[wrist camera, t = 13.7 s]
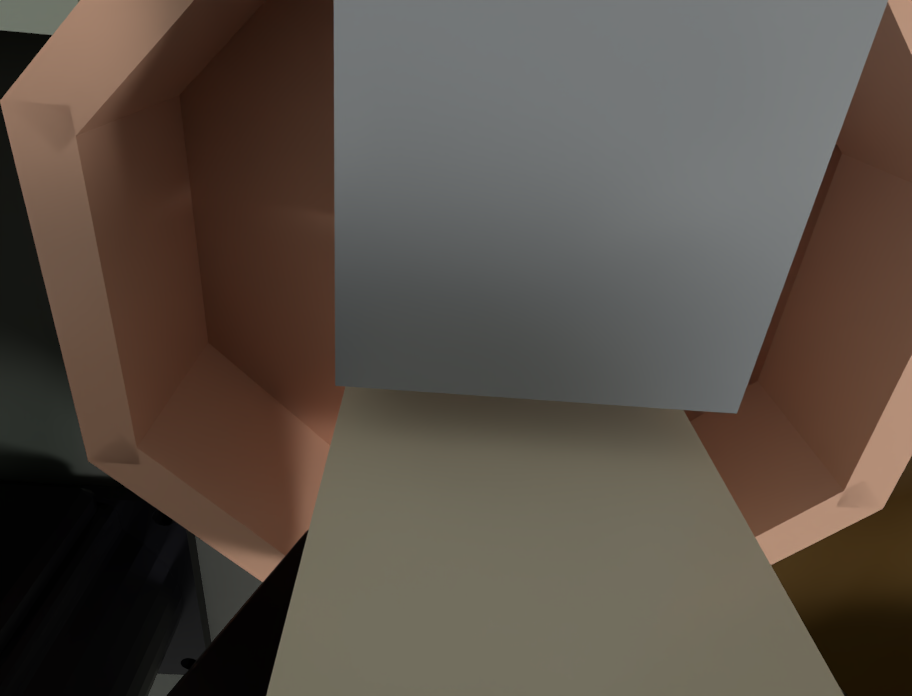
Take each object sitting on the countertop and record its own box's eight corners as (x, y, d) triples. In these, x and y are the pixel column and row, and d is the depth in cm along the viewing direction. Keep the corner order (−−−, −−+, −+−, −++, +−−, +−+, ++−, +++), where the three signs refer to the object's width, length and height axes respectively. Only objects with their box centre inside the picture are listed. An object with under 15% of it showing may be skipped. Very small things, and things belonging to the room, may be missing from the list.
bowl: (727, 509, 16) (803, 653, 13) (200, 478, 15) (127, 621, 12) (973, -128, 10) (1264, -192, 6) (101, -226, 9) (-113, -356, 6)
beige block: (605, 598, 11) (722, 1045, 7) (349, 585, 11) (275, 1040, 6) (668, 383, 9) (912, 818, 4) (351, 361, 9) (241, 794, 4)
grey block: (622, 243, 12) (737, 413, 7) (382, 224, 12) (335, 385, 7) (684, -35, 10) (908, -55, 5) (391, -65, 10) (333, -119, 5)
